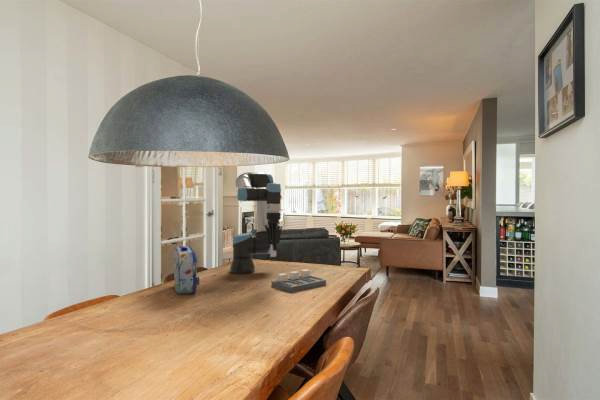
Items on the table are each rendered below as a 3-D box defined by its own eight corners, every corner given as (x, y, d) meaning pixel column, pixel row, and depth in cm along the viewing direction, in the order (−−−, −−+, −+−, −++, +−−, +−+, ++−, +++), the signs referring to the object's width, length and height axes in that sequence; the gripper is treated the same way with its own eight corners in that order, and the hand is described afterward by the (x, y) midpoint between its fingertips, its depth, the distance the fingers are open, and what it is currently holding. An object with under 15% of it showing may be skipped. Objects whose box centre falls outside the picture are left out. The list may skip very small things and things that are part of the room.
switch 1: (277, 281, 180) (277, 274, 180) (283, 279, 183) (283, 273, 183) (281, 282, 178) (281, 275, 178) (287, 280, 180) (287, 274, 180)
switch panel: (271, 286, 181) (271, 280, 181) (305, 279, 196) (305, 273, 196) (291, 292, 169) (291, 286, 169) (326, 284, 184) (326, 278, 184)
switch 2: (300, 276, 191) (300, 270, 190) (306, 275, 193) (306, 269, 193) (304, 277, 188) (304, 271, 188) (309, 276, 191) (310, 270, 191)
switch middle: (289, 278, 185) (289, 272, 185) (295, 277, 188) (295, 271, 188) (293, 279, 183) (293, 273, 183) (298, 278, 186) (298, 272, 186)
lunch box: (200, 295, 162) (201, 248, 162) (177, 298, 157) (177, 249, 157) (192, 282, 187) (192, 241, 187) (171, 284, 182) (171, 242, 182)
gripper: (260, 212, 189) (260, 255, 188) (275, 212, 179) (275, 258, 179) (271, 211, 194) (271, 254, 193) (286, 212, 184) (286, 257, 184)
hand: (273, 256), depth 186 cm, fingers closed
